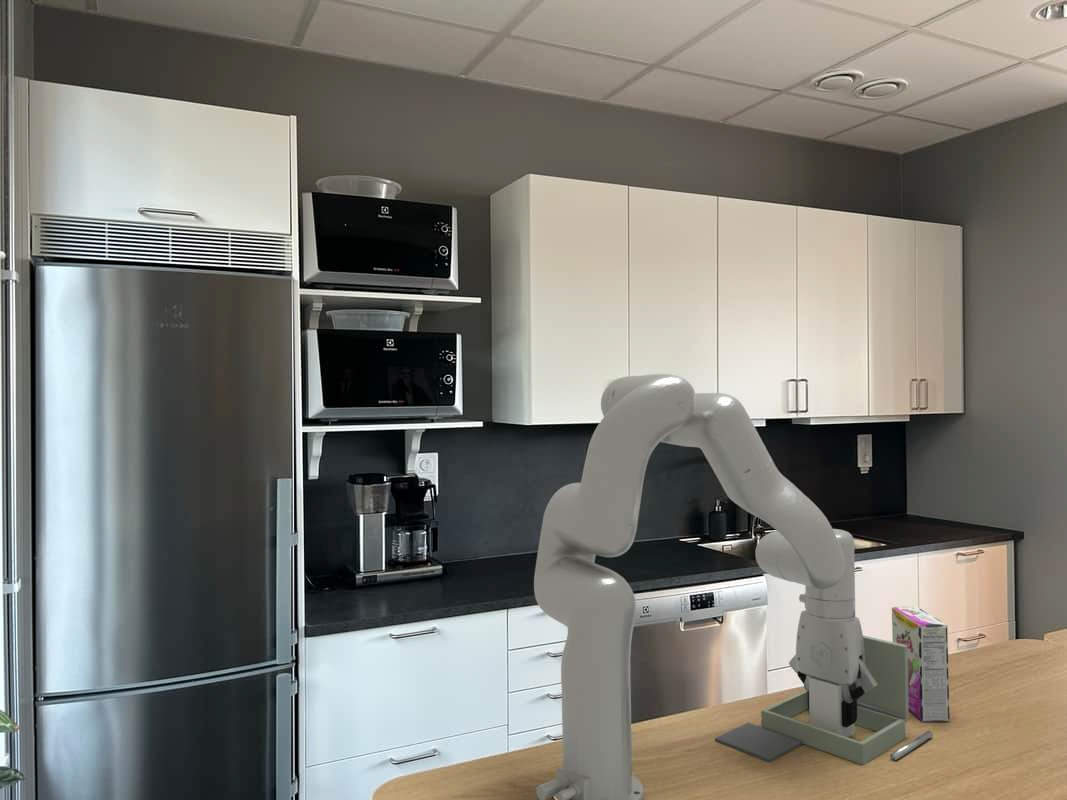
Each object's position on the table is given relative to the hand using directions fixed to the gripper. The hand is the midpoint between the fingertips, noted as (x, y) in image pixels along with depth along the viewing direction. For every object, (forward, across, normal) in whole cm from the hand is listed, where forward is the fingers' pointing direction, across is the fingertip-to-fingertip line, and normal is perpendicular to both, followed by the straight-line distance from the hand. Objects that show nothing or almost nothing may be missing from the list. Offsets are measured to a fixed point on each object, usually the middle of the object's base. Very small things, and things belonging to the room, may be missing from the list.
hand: (832, 718), depth 129 cm
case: (+2, 0, 0) cm, 2 cm away
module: (+3, 0, 0) cm, 3 cm away
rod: (+3, +11, +4) cm, 12 cm away
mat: (+2, -6, -12) cm, 13 cm away
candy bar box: (+3, +5, +20) cm, 21 cm away
